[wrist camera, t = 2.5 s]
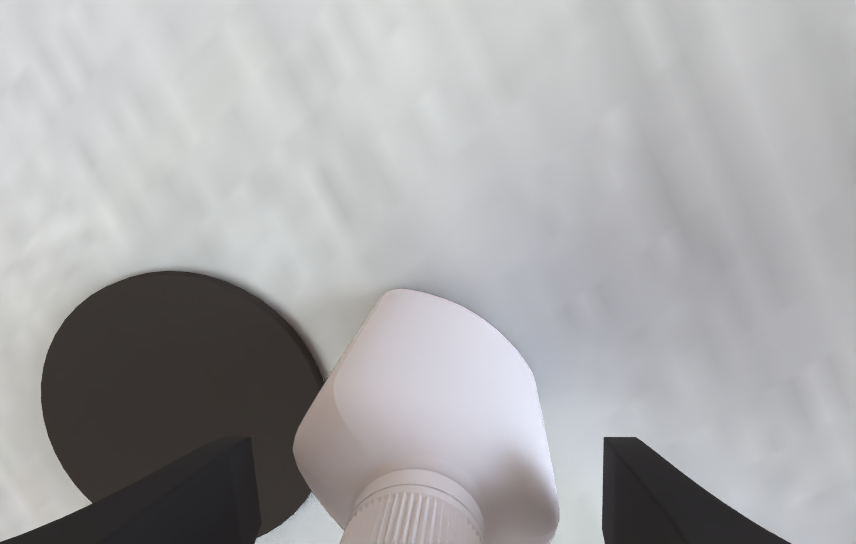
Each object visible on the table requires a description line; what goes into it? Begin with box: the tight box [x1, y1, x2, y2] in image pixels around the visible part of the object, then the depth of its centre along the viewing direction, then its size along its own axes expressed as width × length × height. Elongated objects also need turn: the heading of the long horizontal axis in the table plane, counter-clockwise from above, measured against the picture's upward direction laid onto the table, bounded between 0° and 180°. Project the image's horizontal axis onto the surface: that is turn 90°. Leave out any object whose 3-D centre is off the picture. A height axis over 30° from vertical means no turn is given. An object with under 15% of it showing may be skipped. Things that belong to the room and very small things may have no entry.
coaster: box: [41, 271, 324, 538], centre depth 20 cm, size 10×10×1 cm
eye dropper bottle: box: [293, 289, 559, 544], centre depth 13 cm, size 4×6×12 cm
